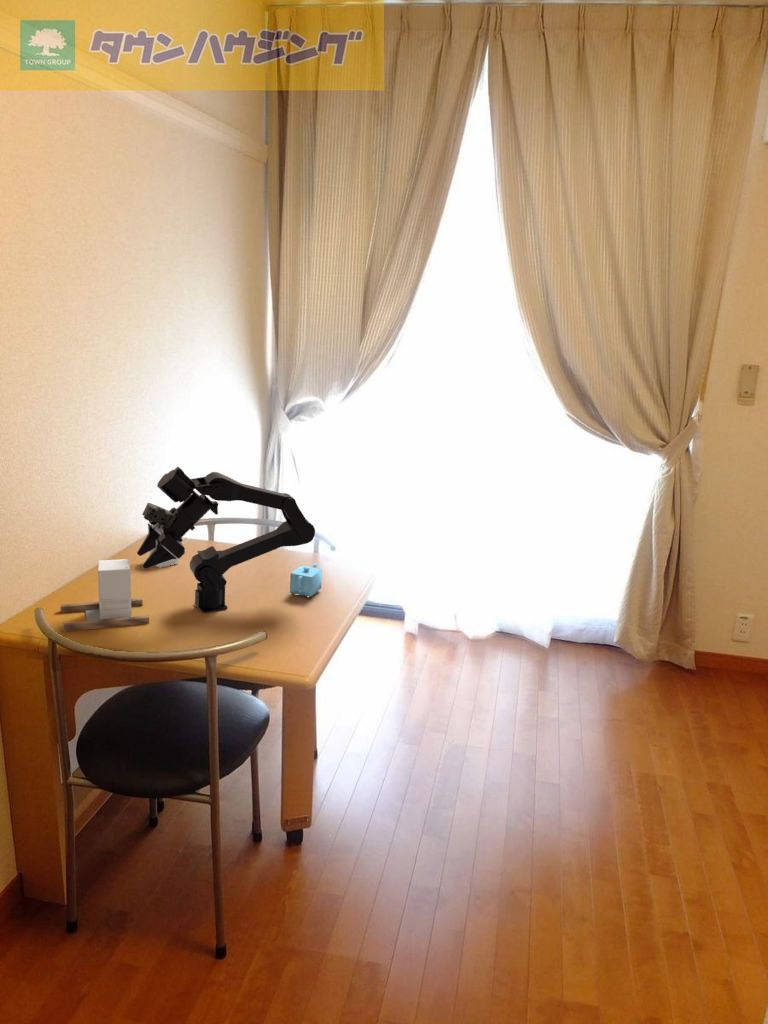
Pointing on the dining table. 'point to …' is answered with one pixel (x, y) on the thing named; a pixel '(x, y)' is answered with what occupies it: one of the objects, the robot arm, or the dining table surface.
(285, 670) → the dining table surface
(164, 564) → the skincare box
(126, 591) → the supplement box
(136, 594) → the dining table surface
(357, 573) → the dining table surface
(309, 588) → the pale blue boxy block
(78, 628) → the guide rails
